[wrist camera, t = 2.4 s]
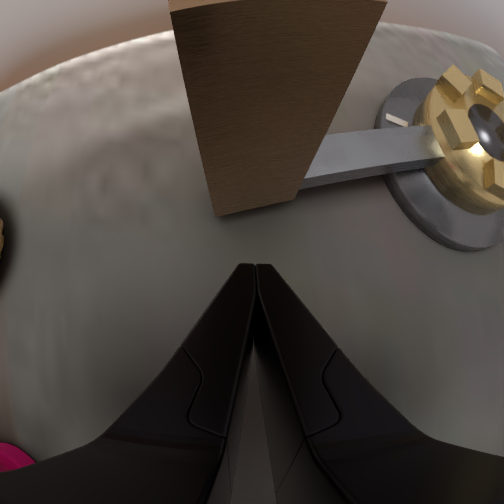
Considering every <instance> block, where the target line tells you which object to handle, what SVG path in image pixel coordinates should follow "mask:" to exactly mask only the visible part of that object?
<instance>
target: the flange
mask: <svg viewBox="0 0 504 504" xmlns="http://www.w3.org/2000/svg"><path fill="white" fill-rule="evenodd" d="M437 81H438V80H436V79H431V78H415V79H410V80H407V81H404V82H402V83H401V84H399V85H398V86H396V87H395V88H394V90H393V91H392V92H391V93H390V95H389V96H388V98H387V99H386V101H385V102H384V104H383V105H382V107H381V108H380V110H379V112H378V115H377V118H376V122H375V127H374V129H384V128H396V127H409V126H412V122H413V116H414V113H415V111H416V109H417V107H418V106H419V105H420V103H421V102H422V101H423V100H424V98H425V97H426V96H427V95H428V94H429V92H430V91H431V90H432V89H433V87H434V86H435V83H436V82H437ZM382 175H383V177H384V180H385V182H386V184H387V186H388V188H389V190H390V192H391V194H392V195H393V197H394V199H395V200H396V202H397V203H398V205H399V206H400V208H401V209H402V210H403V211H404V213H405V214H406V215H407V216H408V218H409V219H410V220H411V221H412V222H413V223H414V224H415V225H416V226H417V227H418V228H419V229H420V230H421V231H423V232H424V233H425V234H426V235H428V236H429V237H430V238H432V239H433V240H435V241H436V242H438V243H440V244H442V245H444V246H446V247H448V248H452V249H455V250H459V251H477V250H480V249H484V248H487V247H490V246H493V245H496V244H498V243H500V242H502V241H503V240H504V208H503V209H501V210H499V211H497V212H495V213H492V214H490V215H476V214H472V213H469V212H467V211H465V210H463V209H461V208H459V207H458V206H457V205H455V204H454V203H452V202H451V201H450V200H449V199H448V198H447V197H446V196H445V195H444V194H443V193H442V192H441V191H440V190H439V189H438V187H437V186H436V185H435V184H434V182H433V181H432V179H431V178H430V176H429V175H428V173H427V172H426V170H425V168H419V169H413V170H406V171H400V172H394V173H388V174H382Z"/></svg>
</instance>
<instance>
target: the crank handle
mask: <svg viewBox="0 0 504 504" xmlns="http://www.w3.org/2000/svg"><path fill="white" fill-rule="evenodd" d="M168 2H169V9H170V15H171V20H172V25H173V30H174V35H175V40H176V45H177V50H178V55H179V59H180V64H181V69H182V74H183V78H184V83H185V88H186V92H187V97H188V102H189V106H190V111H191V115H192V120H193V124H194V129H195V133H196V137H197V142H198V146H199V150H200V155H201V159H202V163H203V168H204V172H205V176H206V180H207V185H208V189H209V193H210V197H211V201H212V205H213V210H214V214H215V217H218V216H222V215H227V214H231V213H236V212H240V211H244V210H249V209H253V208H258V207H262V206H267V205H272V204H276V203H281V202H286V201H290V200H294V198H295V196H296V194H297V192H298V190H300V189H305V188H310V187H315V186H321V185H326V184H331V183H336V182H342V181H347V180H353V179H358V178H364V177H370V176H376V175H382V174H388V173H394V172H400V171H406V170H413V169H419V168H425V170H426V172H427V173H428V175H429V176H430V178H431V179H432V181H433V182H434V184H435V185H436V186H437V187H438V189H439V190H440V191H441V192H442V193H443V194H444V195H445V196H446V197H447V198H448V199H449V200H450V201H451V202H452V203H454V204H455V205H457V206H458V207H459V208H461V209H463V210H465V211H467V212H469V213H472V214H476V215H490V214H492V213H495V212H497V211H499V210H501V209H503V208H504V93H503V89H502V85H501V82H499V81H498V80H496V79H495V78H494V77H492V76H491V75H489V74H488V73H486V72H484V71H483V70H481V69H479V70H478V71H477V72H476V73H475V74H474V75H473V77H470V76H467V75H464V74H463V73H462V72H461V71H460V70H459V69H458V68H457V67H456V66H454V65H452V66H451V67H450V68H449V69H448V70H447V71H446V72H445V73H444V74H443V75H442V76H441V77H440V78H439V80H438V81H437V82H436V83H435V86H434V87H433V89H432V90H431V91H430V92H429V94H428V95H427V96H426V97H425V98H424V100H423V101H422V102H421V103H420V105H419V106H418V107H417V109H416V111H415V113H414V116H413V122H412V126H409V127H396V128H384V129H373V130H364V131H355V132H346V133H338V134H330V135H325V134H326V132H327V130H328V128H329V126H330V124H331V122H332V120H333V118H334V116H335V114H336V111H337V109H338V107H339V105H340V103H341V101H342V99H343V97H344V95H345V92H346V90H347V88H348V86H349V84H350V82H351V80H352V78H353V76H354V73H355V71H356V69H357V67H358V65H359V63H360V61H361V58H362V56H363V54H364V52H365V50H366V48H367V46H368V43H369V41H370V39H371V37H372V35H373V33H374V31H375V28H376V26H377V24H378V22H379V20H380V17H381V15H382V13H383V11H384V9H385V7H386V4H387V1H386V0H168Z"/></svg>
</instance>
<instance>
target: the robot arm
mask: <svg viewBox="0 0 504 504" xmlns="http://www.w3.org/2000/svg"><path fill="white" fill-rule="evenodd" d="M253 340H254V351H255V359H256V366H257V373H258V380H259V387H260V394H261V401H262V408H263V414H264V421H265V428H266V435H267V442H268V448H269V455H270V462H271V468H272V475H273V481H274V488H275V493H276V501H277V504H504V457H502V456H497V455H493V454H488V453H484V452H480V451H476V450H472V449H468V448H464V447H460V446H456V445H453V444H449V443H446V442H442V441H439V440H436V439H434V438H431V437H429V436H428V435H426V434H424V433H423V432H421V431H420V430H418V429H417V428H416V427H415V426H414V425H412V424H411V423H410V422H409V421H408V420H407V419H406V418H405V417H404V416H403V415H402V414H401V413H400V412H399V411H398V410H397V409H396V408H395V407H394V406H393V405H392V404H391V403H389V402H388V401H387V400H386V399H385V398H384V397H383V396H382V395H381V394H380V393H379V392H378V391H377V390H376V389H375V388H374V387H373V386H372V385H371V384H370V383H369V382H368V381H367V380H366V379H365V378H364V377H363V375H362V374H361V373H360V372H359V371H358V370H357V369H356V368H355V366H354V365H353V364H352V363H351V362H350V361H349V359H348V358H347V357H346V356H345V354H344V353H343V352H342V351H341V349H340V348H338V346H337V345H336V343H335V342H334V341H333V340H332V338H331V337H330V336H329V335H328V334H327V332H326V331H325V330H324V329H323V327H322V326H321V325H320V324H319V322H318V321H317V320H316V319H315V317H314V316H313V315H312V314H311V312H310V311H309V310H308V309H307V308H306V306H305V305H304V304H303V303H302V301H301V300H300V299H299V298H298V296H297V295H296V294H295V293H294V292H293V290H292V289H291V288H290V287H289V285H288V284H287V283H286V282H285V280H284V279H283V278H282V277H281V276H280V274H279V273H278V272H277V271H276V269H275V268H274V267H273V266H272V265H271V264H256V265H254V264H248V263H240V264H238V265H237V267H236V268H235V270H234V271H233V272H232V274H231V275H230V277H229V278H228V279H227V281H226V282H225V284H224V285H223V286H222V288H221V289H220V291H219V292H218V293H217V295H216V296H215V298H214V299H213V300H212V302H211V303H210V305H209V306H208V307H207V309H206V310H205V312H204V313H203V314H202V316H201V317H200V319H199V320H198V322H197V323H196V324H195V326H194V327H193V329H192V330H191V331H190V333H189V334H188V336H187V337H186V338H185V340H184V341H183V343H182V344H181V347H179V348H178V349H177V351H176V352H175V354H174V355H173V357H172V358H171V359H170V361H169V362H168V363H167V364H166V366H165V367H164V368H163V370H162V371H161V372H160V374H159V375H158V376H157V377H156V378H155V379H154V380H153V382H152V383H151V384H150V385H149V386H148V387H147V388H146V389H145V391H144V392H143V393H142V394H141V395H140V396H139V397H138V398H137V399H136V400H135V401H134V402H133V403H132V404H131V405H130V406H129V407H128V408H127V410H126V411H125V412H124V413H123V414H122V415H121V416H120V417H119V418H118V419H117V420H116V421H115V422H114V423H113V424H112V425H111V426H110V427H109V428H108V429H107V430H106V431H105V432H104V433H103V434H102V435H100V436H99V437H98V438H96V439H95V440H93V441H92V442H90V443H88V444H86V445H84V446H82V447H79V448H76V449H74V450H71V451H68V452H66V453H63V454H60V455H57V456H54V457H52V458H49V459H46V460H43V461H40V462H37V463H34V464H30V465H27V466H24V467H21V468H18V469H14V470H10V471H5V472H0V504H230V501H231V494H232V488H233V482H234V475H235V469H236V462H237V456H238V449H239V442H240V436H241V429H242V422H243V415H244V408H245V401H246V394H247V387H248V380H249V373H250V366H251V359H252V351H253Z"/></svg>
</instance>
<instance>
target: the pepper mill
mask: <svg viewBox="0 0 504 504" xmlns="http://www.w3.org/2000/svg"><path fill="white" fill-rule="evenodd" d="M34 463H35V461H34V460H33V459H32V458H30V457H29V456H28V455H27V454H26V453H25V452H23V451H22V450H20V449H19V448H17V447H16V446H14V445H11V444H8V443H0V472H5V471H10V470H14V469H18V468H21V467H24V466H27V465H30V464H34Z"/></svg>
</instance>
